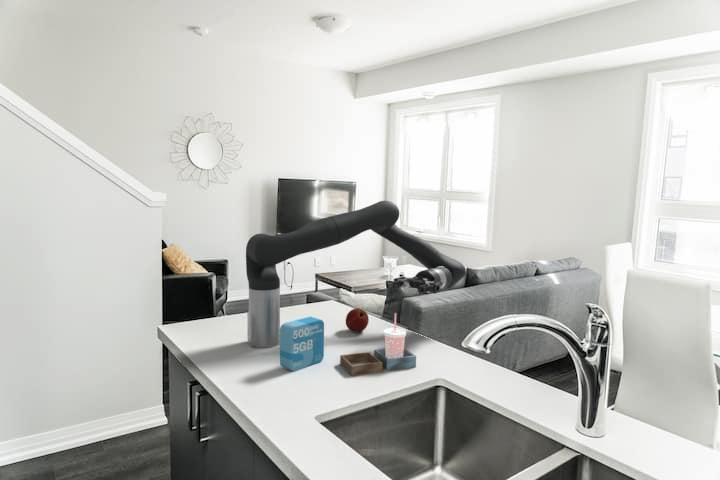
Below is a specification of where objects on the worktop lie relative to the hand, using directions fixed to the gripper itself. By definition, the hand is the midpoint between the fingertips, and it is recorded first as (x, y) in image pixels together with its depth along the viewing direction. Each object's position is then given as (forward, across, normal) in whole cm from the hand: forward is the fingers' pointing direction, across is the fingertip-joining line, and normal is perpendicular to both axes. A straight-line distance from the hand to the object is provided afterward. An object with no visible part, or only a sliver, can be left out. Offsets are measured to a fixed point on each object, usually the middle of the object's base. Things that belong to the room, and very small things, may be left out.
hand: (406, 288), depth 142 cm
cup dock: (+14, 0, +19) cm, 24 cm away
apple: (-8, -22, +19) cm, 30 cm away
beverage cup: (+10, +2, +19) cm, 22 cm away
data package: (+25, -17, +20) cm, 37 cm away
